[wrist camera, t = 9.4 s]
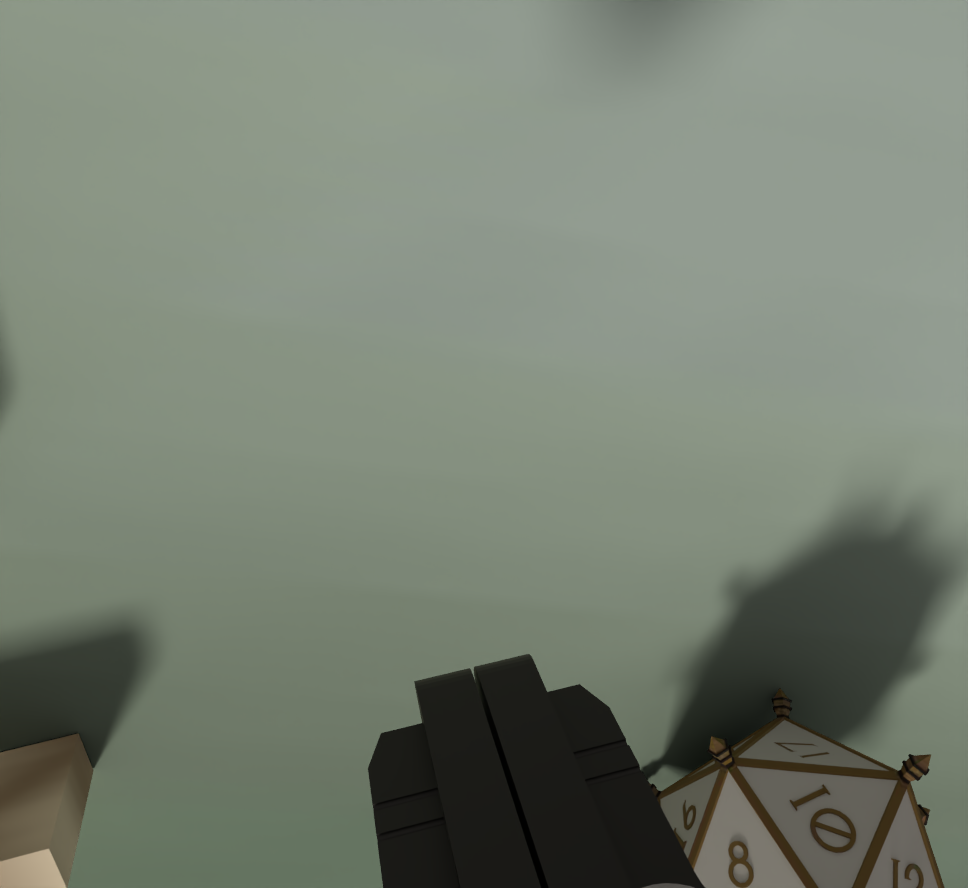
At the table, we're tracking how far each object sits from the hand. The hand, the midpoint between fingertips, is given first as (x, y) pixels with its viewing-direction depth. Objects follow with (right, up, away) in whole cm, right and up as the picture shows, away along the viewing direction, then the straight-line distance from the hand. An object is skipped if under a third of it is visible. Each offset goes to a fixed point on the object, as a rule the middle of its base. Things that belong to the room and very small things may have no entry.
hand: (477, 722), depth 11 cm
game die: (+7, -6, +16) cm, 19 cm away
